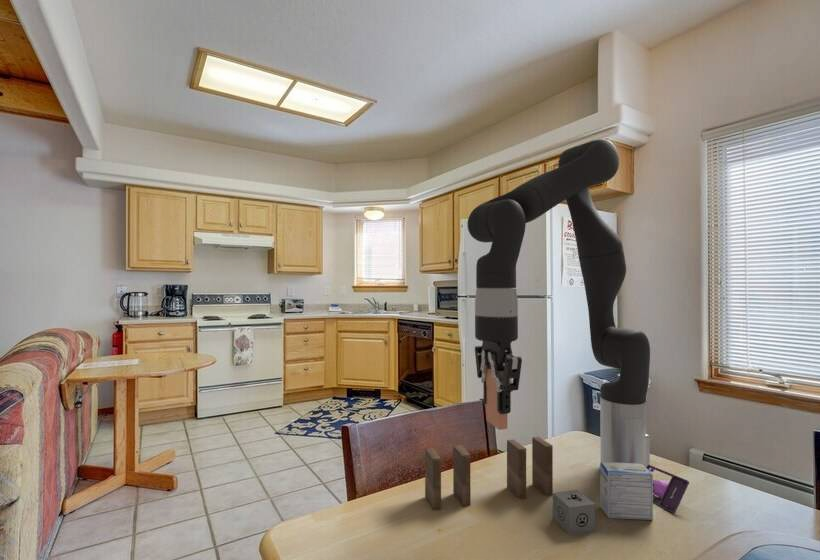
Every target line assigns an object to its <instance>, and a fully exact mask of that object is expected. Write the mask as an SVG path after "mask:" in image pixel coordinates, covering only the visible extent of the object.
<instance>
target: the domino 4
mask: <svg viewBox="0 0 820 560" xmlns="http://www.w3.org/2000/svg"><path fill="white" fill-rule="evenodd" d="M506 488H507V489H508V490H509V492H511V493H512V494H513V495H514V496H515V497H516V498H517V499H518V500H523V499H524V500H525V499H527V447H525V446H523V445H522V444H521V443H520V442H518V441H517V440H515V438H514V439H507V440H506Z"/></svg>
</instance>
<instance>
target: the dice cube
mask: <svg viewBox="0 0 820 560" xmlns="http://www.w3.org/2000/svg"><path fill="white" fill-rule="evenodd" d="M552 520H553V521H554V522H555V523H556V524H557V525H559V526H560V528H562V529H563V530H564V531H565V532H566V533H567V534H568V535H569V536H573V535H579V534H586V533H594V532H596V503H595V502H594V501H592V500H590V498H589V497H587V496H586V495H584V494H583V493H581V491H579V490H578V489H573V490H565V491H557V492H553V495H552Z"/></svg>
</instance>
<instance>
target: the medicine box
mask: <svg viewBox="0 0 820 560" xmlns="http://www.w3.org/2000/svg"><path fill="white" fill-rule="evenodd" d="M599 469H600V470H599V480H600V482H599V483H600V484H599V485H600V487H599V488H600V491H599V494H600V496H599V497H600V500H599V501H600V507H601V509H602V510H603V512H604V514H605V515H606V516H607V518H608V519H623V520H624V519H626V520H642V521H643V520H644V521H645V520H646V521H653V520H654V506H653V504H654V503H653V501H654V500H653V494H654V493H653V480H654V475H653V472H651V471H649V470H648V469H647V468H646V467H645V466H643V465H642V464H635V463H609V462H601V461H600V463H599Z"/></svg>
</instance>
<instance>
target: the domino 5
mask: <svg viewBox="0 0 820 560" xmlns="http://www.w3.org/2000/svg"><path fill="white" fill-rule="evenodd" d="M531 439H532V440H531V442H532V444H531V445H532V447H531V448H532V449H531V452H532V453H531V454H532V455H531V457H532V458H531V461H532V463H531V464H532V465H531V466H532V469H531V473H532V474H531V478H532V479H531V480H532V482H531V483H532V485H533V486H534V487H535V488H536V489H537V490H538V491H539V492H540V493H542V494H543V495H544V496H546V497H547V496H553V493H554V490H553V487H554V485H553V484H554V482H553V480H554V477H553V475H554V473H553V471H554V469H553V467H554V466H553V463H554V461H553V451H554V449H553V447H554V446H553V444H551V443H550V442H548V441H546V440H544V439H543V438H541V437H540V436H535V437H532V438H531Z"/></svg>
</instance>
